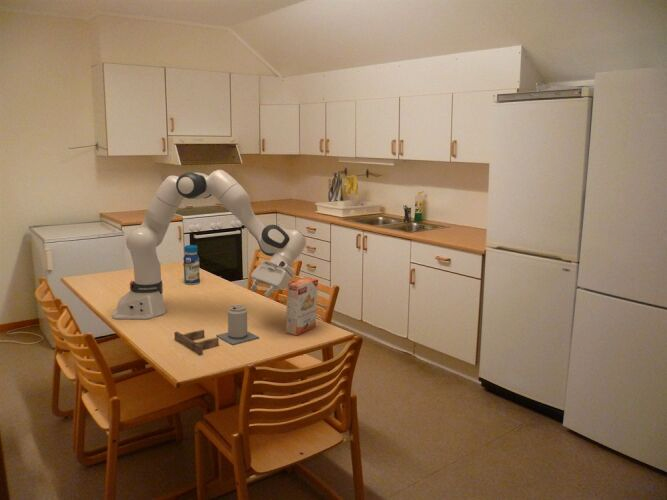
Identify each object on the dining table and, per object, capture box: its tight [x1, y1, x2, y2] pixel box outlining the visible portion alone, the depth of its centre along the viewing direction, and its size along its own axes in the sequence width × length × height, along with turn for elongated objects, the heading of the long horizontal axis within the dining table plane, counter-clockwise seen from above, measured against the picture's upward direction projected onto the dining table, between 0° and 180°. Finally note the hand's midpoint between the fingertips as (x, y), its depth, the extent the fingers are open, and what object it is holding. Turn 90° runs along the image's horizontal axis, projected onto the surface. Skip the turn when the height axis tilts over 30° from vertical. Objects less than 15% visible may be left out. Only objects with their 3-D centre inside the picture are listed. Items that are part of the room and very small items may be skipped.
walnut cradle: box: [174, 329, 220, 356], centre depth 215 cm, size 10×20×3 cm, turn 41°
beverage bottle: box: [182, 244, 201, 286], centre depth 299 cm, size 8×8×20 cm
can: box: [227, 304, 248, 339], centre depth 222 cm, size 8×8×12 cm
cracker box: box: [285, 276, 319, 336], centre depth 230 cm, size 14×6×21 cm, turn 148°
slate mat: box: [215, 330, 260, 346], centre depth 223 cm, size 12×12×1 cm
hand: (259, 292), depth 226 cm, fingers open, 8 cm apart
